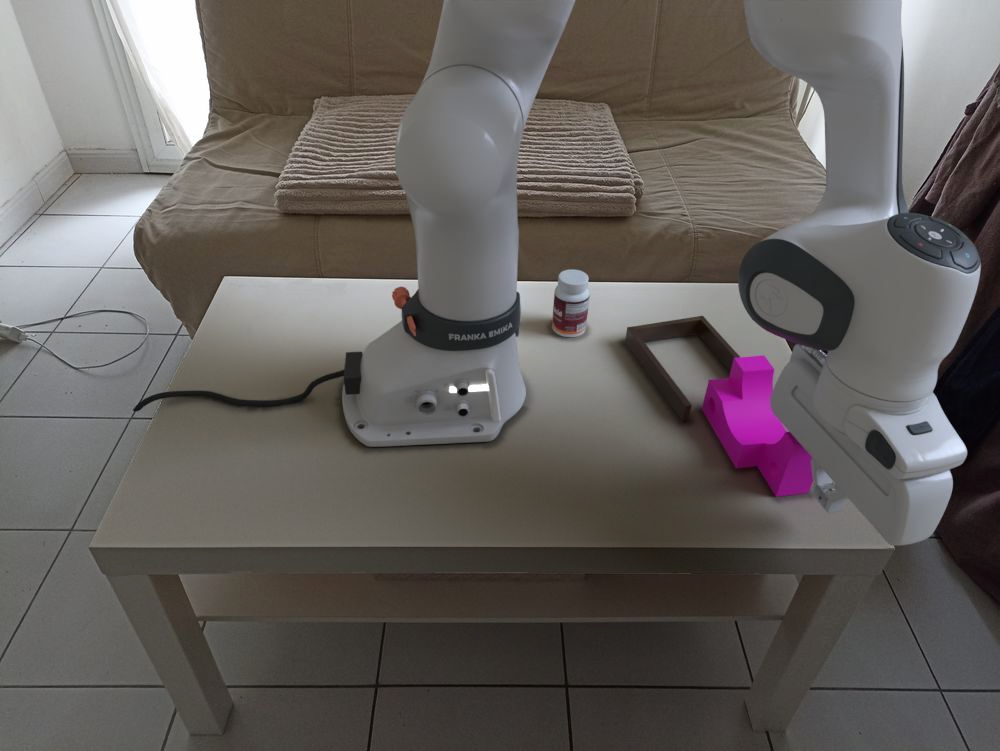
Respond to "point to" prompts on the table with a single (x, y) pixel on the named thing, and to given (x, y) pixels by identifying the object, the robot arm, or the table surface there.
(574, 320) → the pill bottle
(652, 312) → the table surface
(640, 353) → the bay
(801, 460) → the toy block
